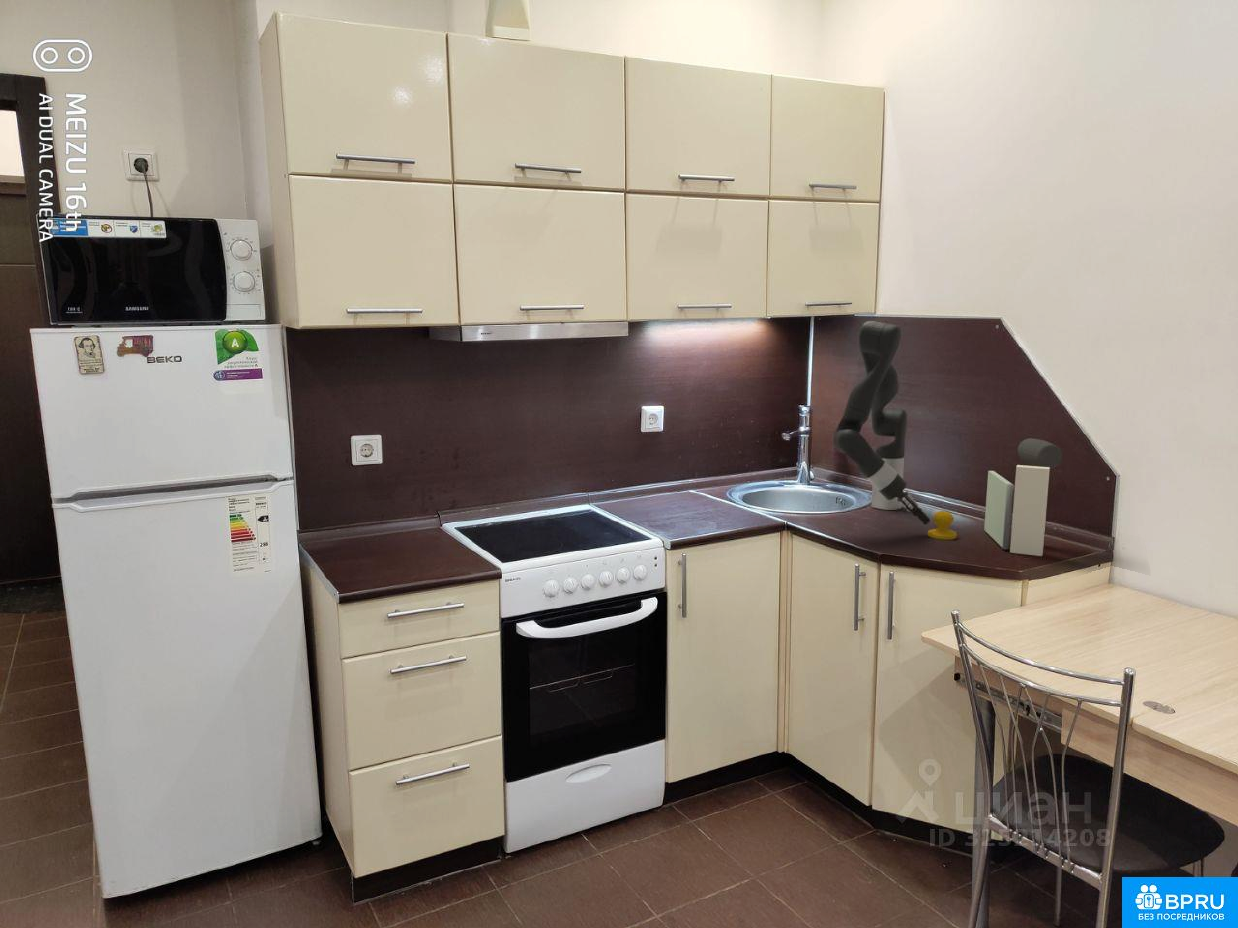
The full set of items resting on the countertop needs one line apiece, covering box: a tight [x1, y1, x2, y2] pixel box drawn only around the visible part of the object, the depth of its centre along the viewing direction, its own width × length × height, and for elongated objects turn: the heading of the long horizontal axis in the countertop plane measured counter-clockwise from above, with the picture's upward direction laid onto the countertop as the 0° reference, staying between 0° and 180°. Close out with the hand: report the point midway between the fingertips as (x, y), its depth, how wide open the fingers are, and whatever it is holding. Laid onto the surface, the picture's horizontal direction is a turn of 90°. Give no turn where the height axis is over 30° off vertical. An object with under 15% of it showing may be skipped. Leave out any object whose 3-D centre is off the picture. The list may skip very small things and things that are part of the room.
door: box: [983, 470, 1015, 550], centre depth 252 cm, size 21×2×18 cm, turn 172°
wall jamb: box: [1009, 464, 1051, 557], centre depth 240 cm, size 8×3×24 cm, turn 62°
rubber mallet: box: [1017, 437, 1063, 470], centre depth 248 cm, size 12×8×30 cm, turn 3°
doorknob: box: [927, 510, 958, 541], centre depth 260 cm, size 8×8×8 cm
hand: (927, 522), depth 260 cm, fingers closed
